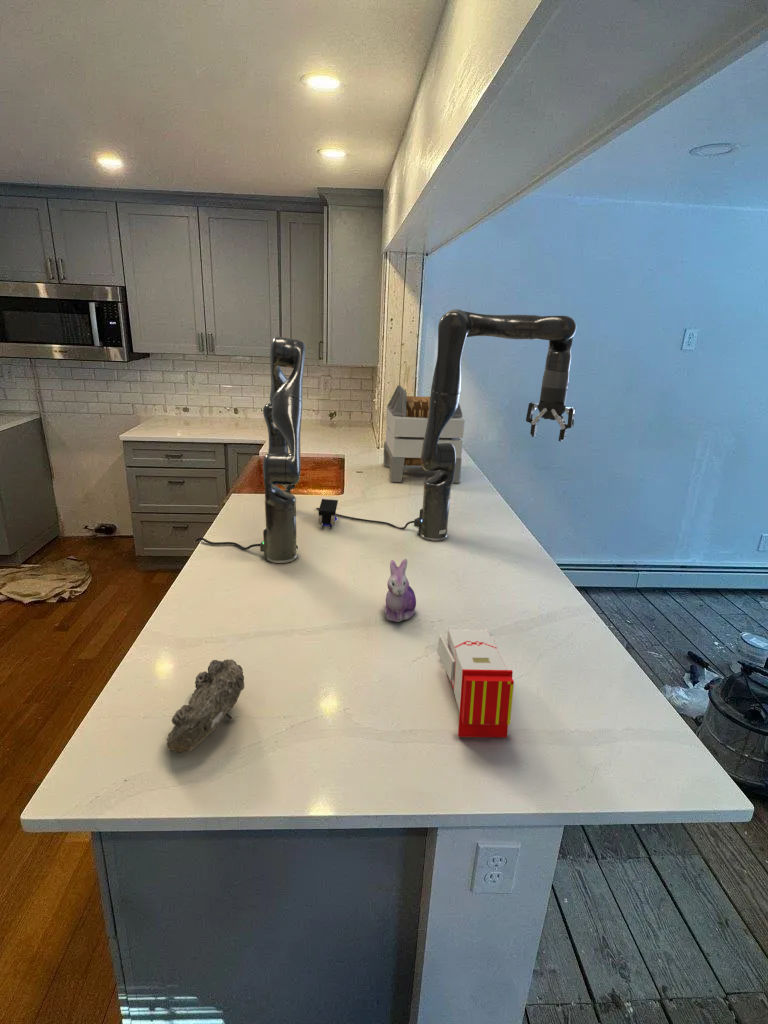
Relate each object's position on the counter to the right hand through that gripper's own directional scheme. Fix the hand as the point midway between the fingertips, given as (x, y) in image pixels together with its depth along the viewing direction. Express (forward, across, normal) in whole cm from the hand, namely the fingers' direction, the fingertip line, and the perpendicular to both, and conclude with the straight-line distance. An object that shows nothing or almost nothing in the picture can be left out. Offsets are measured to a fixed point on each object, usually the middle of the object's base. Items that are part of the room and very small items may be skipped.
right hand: (547, 438), depth 176 cm
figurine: (+39, -13, -61) cm, 74 cm away
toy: (+39, +16, -79) cm, 89 cm away
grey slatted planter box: (+39, -78, +58) cm, 105 cm away
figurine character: (+39, -68, -23) cm, 82 cm away
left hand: (+35, -95, -20) cm, 103 cm away
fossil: (+39, -20, -116) cm, 124 cm away
